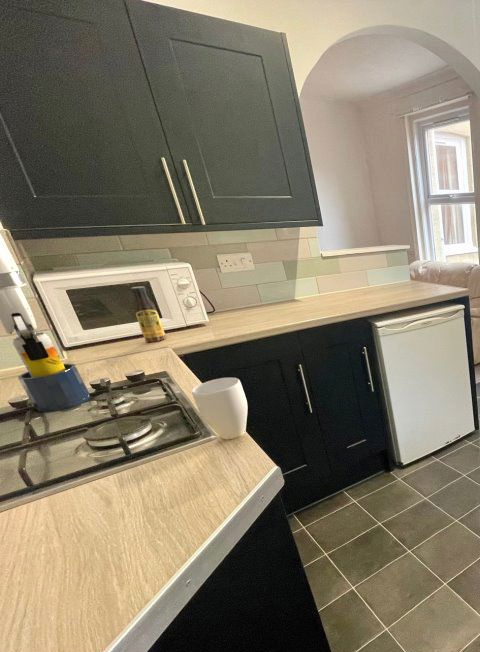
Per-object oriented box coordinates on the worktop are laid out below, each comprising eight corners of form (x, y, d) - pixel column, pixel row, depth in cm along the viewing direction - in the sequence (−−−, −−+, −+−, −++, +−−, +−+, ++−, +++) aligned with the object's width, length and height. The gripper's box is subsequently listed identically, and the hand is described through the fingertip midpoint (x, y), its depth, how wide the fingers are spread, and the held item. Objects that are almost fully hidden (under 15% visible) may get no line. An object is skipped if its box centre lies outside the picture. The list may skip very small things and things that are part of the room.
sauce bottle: (146, 344, 154) (123, 289, 146) (145, 340, 158) (124, 287, 150) (168, 340, 158) (147, 286, 149) (167, 336, 162) (147, 284, 154)
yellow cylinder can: (79, 390, 107) (50, 333, 101) (46, 399, 102) (14, 341, 96) (70, 385, 110) (42, 330, 104) (38, 394, 105) (7, 337, 99)
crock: (37, 416, 101) (18, 382, 97) (36, 405, 107) (18, 372, 103) (93, 401, 108) (76, 369, 104) (88, 391, 114) (73, 360, 110)
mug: (261, 433, 88) (245, 383, 84) (216, 449, 83) (196, 397, 78) (244, 415, 96) (228, 370, 92) (202, 429, 91) (183, 381, 86)
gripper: (-24, 281, 98) (17, 353, 105) (-28, 288, 87) (17, 368, 94) (23, 276, 103) (58, 345, 110) (24, 282, 92) (63, 358, 99)
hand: (39, 355), depth 102 cm, fingers closed on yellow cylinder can, 6 cm apart
